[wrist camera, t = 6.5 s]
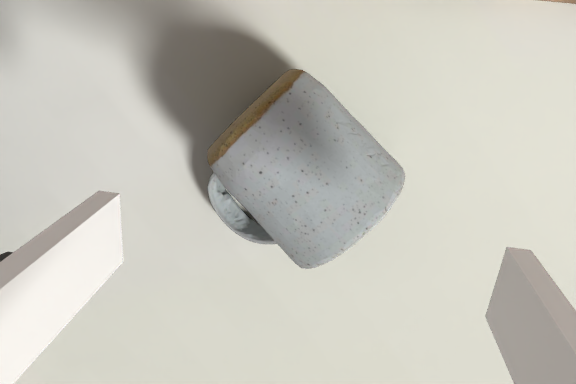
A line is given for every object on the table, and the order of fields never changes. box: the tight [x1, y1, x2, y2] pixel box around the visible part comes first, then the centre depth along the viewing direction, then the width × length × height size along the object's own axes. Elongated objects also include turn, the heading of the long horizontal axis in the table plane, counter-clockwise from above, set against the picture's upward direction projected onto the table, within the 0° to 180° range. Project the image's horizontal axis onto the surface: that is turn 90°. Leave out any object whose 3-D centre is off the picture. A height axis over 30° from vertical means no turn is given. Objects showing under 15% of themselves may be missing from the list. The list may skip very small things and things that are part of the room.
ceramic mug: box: [207, 69, 405, 269], centre depth 25 cm, size 11×8×8 cm
